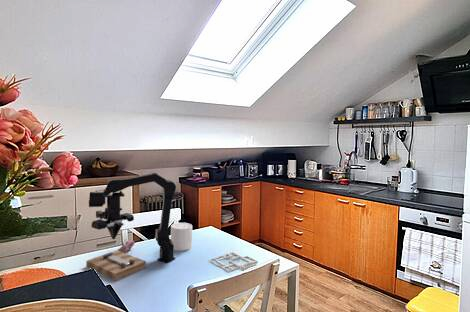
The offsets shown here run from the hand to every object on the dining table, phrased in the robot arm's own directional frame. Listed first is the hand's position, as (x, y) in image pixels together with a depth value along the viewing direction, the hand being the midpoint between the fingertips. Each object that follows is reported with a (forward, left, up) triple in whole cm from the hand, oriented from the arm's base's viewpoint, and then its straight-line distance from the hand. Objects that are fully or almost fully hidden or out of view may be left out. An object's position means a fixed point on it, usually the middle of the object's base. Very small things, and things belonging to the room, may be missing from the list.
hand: (113, 238), depth 140 cm
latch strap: (-4, 0, -10) cm, 11 cm away
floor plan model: (-45, -40, -14) cm, 62 cm away
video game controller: (+10, -14, -13) cm, 22 cm away
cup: (-9, -37, -13) cm, 40 cm away
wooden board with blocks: (-3, 0, -13) cm, 13 cm away
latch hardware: (-3, 0, -10) cm, 10 cm away
